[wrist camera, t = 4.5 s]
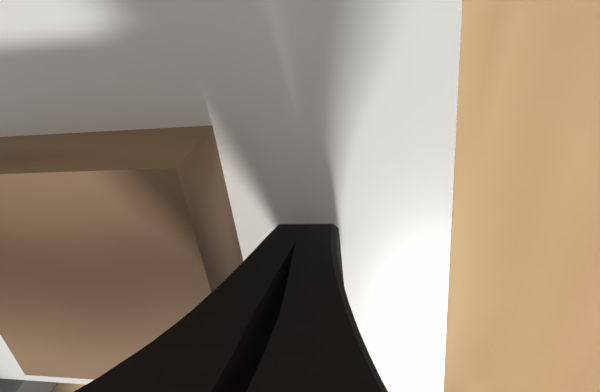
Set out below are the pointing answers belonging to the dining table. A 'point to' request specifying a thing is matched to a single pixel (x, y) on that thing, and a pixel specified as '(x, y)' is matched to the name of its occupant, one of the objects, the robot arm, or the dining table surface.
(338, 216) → the board
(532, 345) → the dining table surface
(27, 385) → the box
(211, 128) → the tile
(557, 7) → the dining table surface
